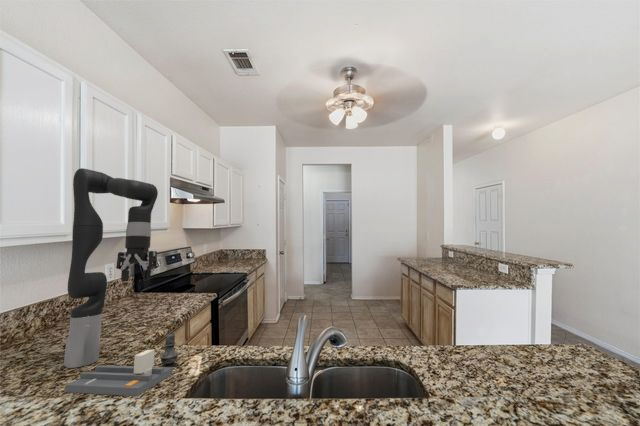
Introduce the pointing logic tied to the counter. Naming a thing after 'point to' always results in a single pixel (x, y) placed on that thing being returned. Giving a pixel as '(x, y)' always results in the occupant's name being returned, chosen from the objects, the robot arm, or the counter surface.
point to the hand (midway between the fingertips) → (135, 281)
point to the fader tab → (144, 362)
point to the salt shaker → (169, 351)
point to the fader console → (117, 380)
